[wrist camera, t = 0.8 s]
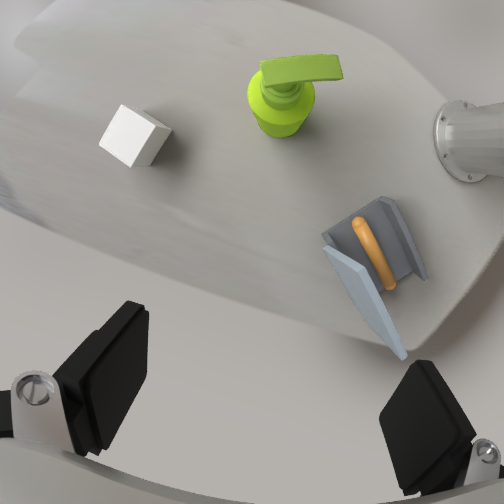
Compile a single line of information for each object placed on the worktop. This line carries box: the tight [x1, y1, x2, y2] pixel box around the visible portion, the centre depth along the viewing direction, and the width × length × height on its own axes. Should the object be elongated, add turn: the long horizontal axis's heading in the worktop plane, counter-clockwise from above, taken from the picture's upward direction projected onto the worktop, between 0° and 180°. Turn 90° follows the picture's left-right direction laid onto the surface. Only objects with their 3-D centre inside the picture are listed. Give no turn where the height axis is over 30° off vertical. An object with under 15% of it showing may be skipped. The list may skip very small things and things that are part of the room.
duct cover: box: [322, 245, 408, 360], centre depth 30 cm, size 11×12×1 cm
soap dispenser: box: [248, 54, 343, 138], centre depth 26 cm, size 6×7×20 cm
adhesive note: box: [99, 104, 172, 168], centre depth 34 cm, size 6×6×6 cm
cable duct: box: [321, 196, 428, 293], centre depth 37 cm, size 10×12×5 cm
